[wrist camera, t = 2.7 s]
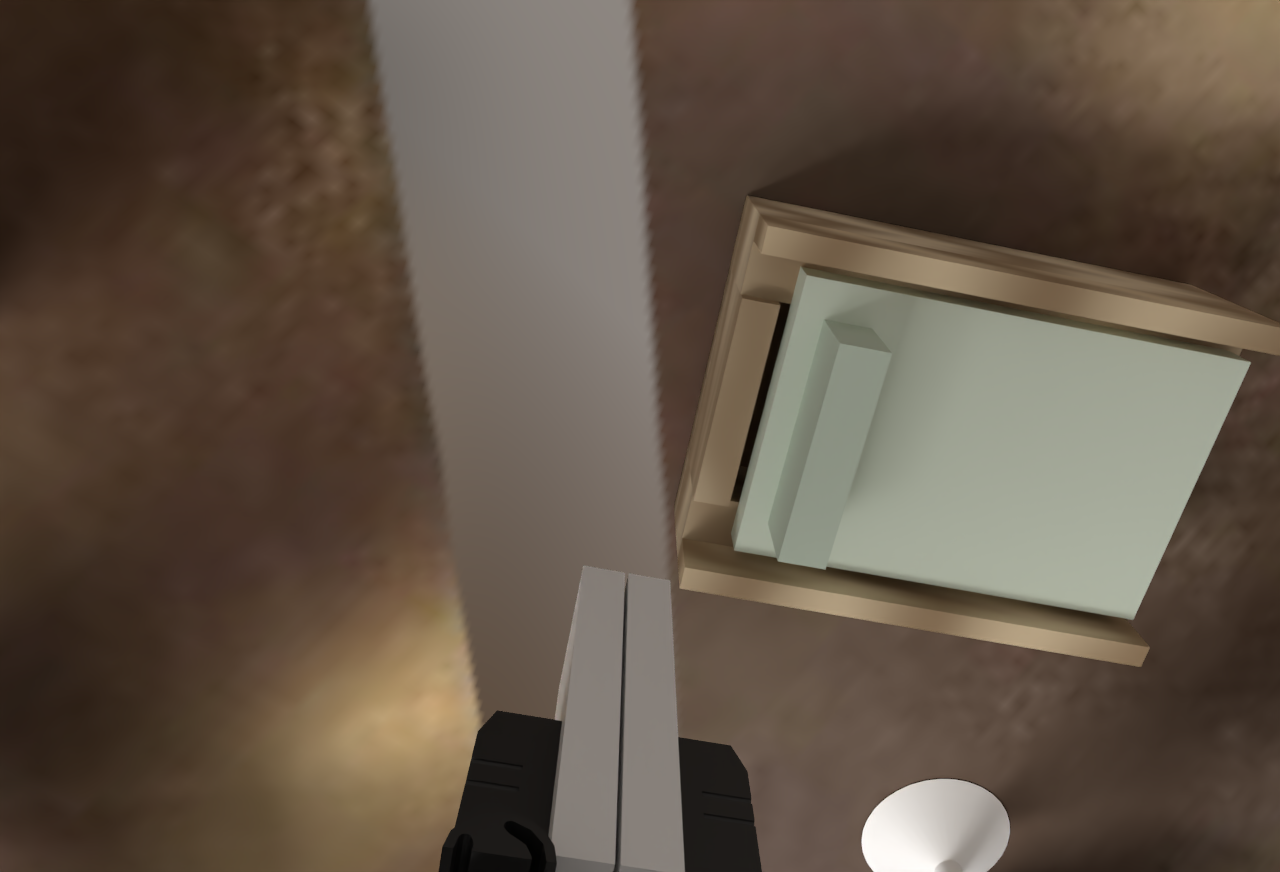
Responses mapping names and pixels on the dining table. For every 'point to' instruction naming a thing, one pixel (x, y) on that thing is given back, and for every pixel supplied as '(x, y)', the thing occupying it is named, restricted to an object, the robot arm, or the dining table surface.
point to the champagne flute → (936, 829)
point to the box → (926, 262)
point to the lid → (978, 445)
